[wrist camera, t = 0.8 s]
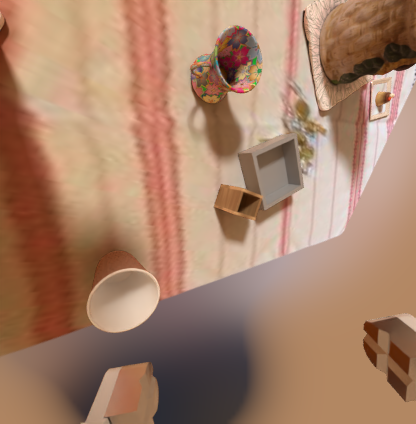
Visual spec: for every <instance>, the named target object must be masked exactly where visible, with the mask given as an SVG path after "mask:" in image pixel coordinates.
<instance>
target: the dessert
mask: <svg viewBox="0 0 416 424" xmlns="http://www.w3.org/2000/svg"><path fill="white" fill-rule="evenodd" d="M391 79H392V77H389V78H383V79H378V80H372V83H371V101H370V121H371V120H374V119H377V118H381V117H384V116H387V115H389V106H390V100H391V98H392V99H393V97H394V96H395V95H394V94H391V93H390V92H391ZM386 82H387V92H378V93H377V95H376V100H375V102H376V105H377V106H381V105H383V104H385V103H386V110H385V112H384V113H380V114H377V115H373V116H371V108H372V87H373V85H375V84H380V83H386Z"/></svg>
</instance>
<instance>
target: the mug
mask: <svg viewBox="0 0 416 424" xmlns="http://www.w3.org/2000/svg"><path fill="white" fill-rule="evenodd" d="M190 70H191V81H192V85H193V88H194V90H195V92H196V93H197V95H198V96H199V97H200V98H201V99H202V100H204V101H206V102H208V103H217V102H219V101H221V100H222V99H223V98H224V97H225V95H226V94H227V92H230V91H233V92H236V93H247V92H249V91H251V90H252V89H253V88H254V87H255V86H256V85H257V83H258V81H259V79H260V76H261V72H262V55H261V51H260V48H259V45H258V43H257V41H256V39H255V38H254V36H253V35H252V34H251V33H250V32H249V31H248V30H247V29H245V28H243V27H241V26H230V27H228V28H226V29H225V30H223V31H222V33H221V34H220V35H219V37H218V39H217V42H216V45H215V49H214V51H213V52H212V54H205V55H202V56H200V57H198V58H197V59H196V61H195V62H194V64H192V65H191V67H190Z"/></svg>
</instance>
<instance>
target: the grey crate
mask: <svg viewBox="0 0 416 424" xmlns="http://www.w3.org/2000/svg"><path fill="white" fill-rule="evenodd" d="M238 156H239V160H240V164H241V168H242V172H243V176H244V180H245V184H246V188H247V190H249V191H251V192H254V193H257V194H259V195H262V196H263V198H262V201H261V204H260V207H259V209H261V210H264V211H265V210H267V209H268V208H270V207H272V206H273V205H275V204H277V203H279V202H280V201H282V200H284V199H285V198H287V197H289V196H290V195H292V194H294V193H295V192H297V191H299V190H301V189H302V188H304V185H303V177H302V170H301V163H300V156H299V148H298V141H297V134H296V133H293V134H285V135H279V136H277V137H275V138H273V139H270V140H268V141H266V142H263V143H261V144H259V145H256V146H254V147H252V148H249V149H247V150H245V151H243V152H240V153H238Z"/></svg>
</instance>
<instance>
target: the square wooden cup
mask: <svg viewBox="0 0 416 424" xmlns="http://www.w3.org/2000/svg"><path fill="white" fill-rule="evenodd" d="M262 198H263V196H262V195H259V194H257V193H254V192H251V191H249V190H246V189H244V188H240V187H234V186H229V185H223V184H221V186H220V189H219V192H218V195H217V199H216V202H215V205H214V207H216V208H218V209H221V210H224V211H227V212H229V213H232V214H235V215H238V216H242V217H245V218H248V219H252V220H255V219H256V216H257V213H258V210H259V207H260V204H261V201H262Z"/></svg>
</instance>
